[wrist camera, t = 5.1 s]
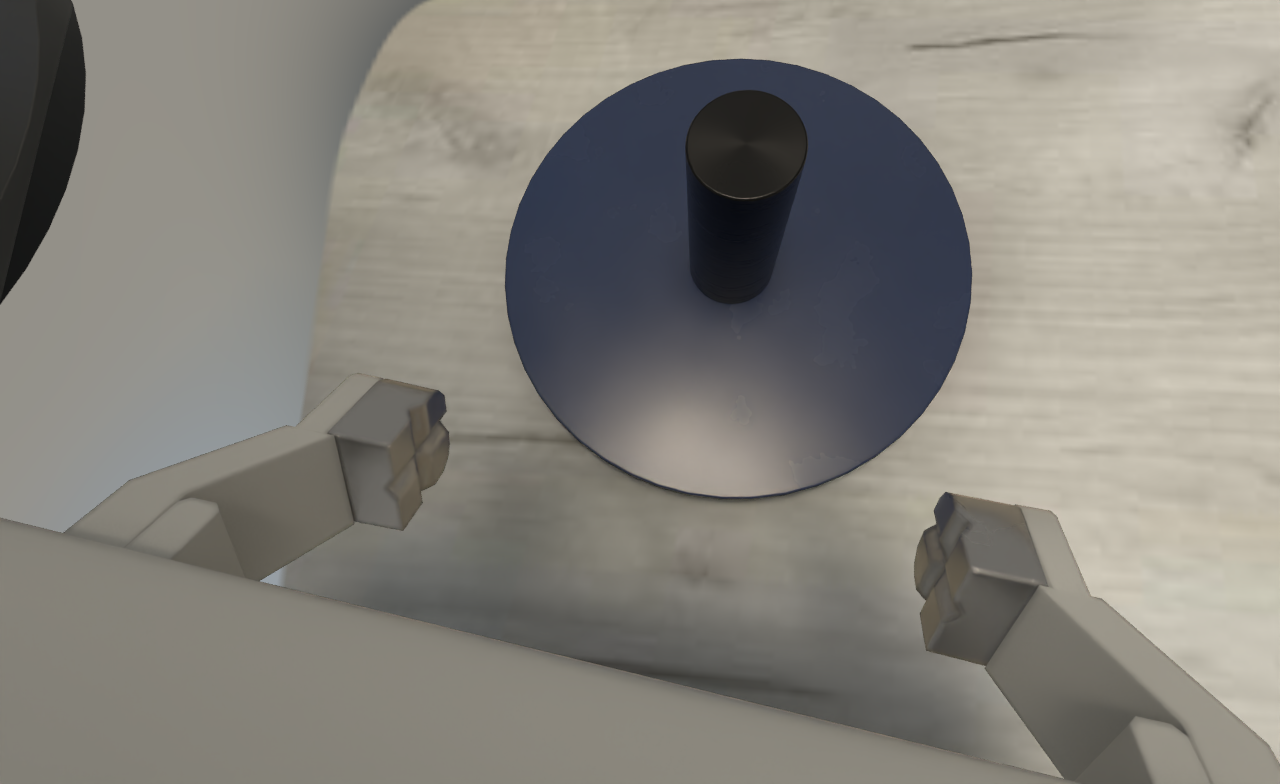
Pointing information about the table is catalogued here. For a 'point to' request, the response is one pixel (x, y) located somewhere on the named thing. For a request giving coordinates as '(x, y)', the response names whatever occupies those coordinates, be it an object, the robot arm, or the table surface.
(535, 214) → the lid
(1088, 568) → the table surface
